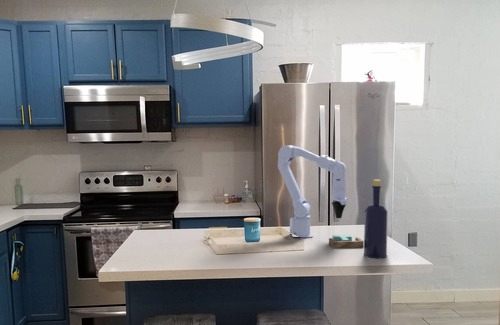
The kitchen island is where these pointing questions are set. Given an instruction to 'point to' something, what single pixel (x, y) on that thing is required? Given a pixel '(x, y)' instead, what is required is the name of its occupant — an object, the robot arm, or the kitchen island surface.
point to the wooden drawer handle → (346, 243)
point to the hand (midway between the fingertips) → (338, 217)
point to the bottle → (375, 226)
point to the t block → (342, 238)
